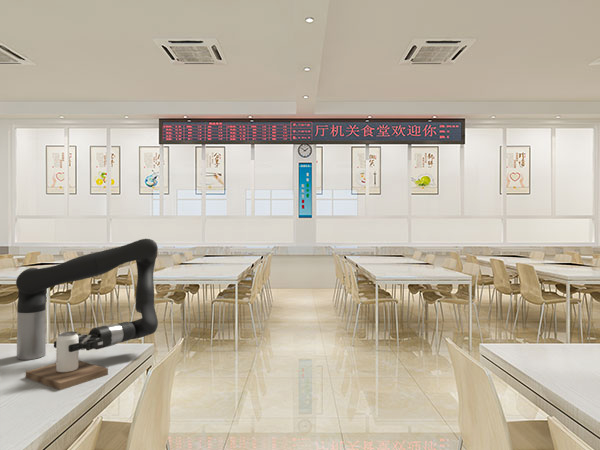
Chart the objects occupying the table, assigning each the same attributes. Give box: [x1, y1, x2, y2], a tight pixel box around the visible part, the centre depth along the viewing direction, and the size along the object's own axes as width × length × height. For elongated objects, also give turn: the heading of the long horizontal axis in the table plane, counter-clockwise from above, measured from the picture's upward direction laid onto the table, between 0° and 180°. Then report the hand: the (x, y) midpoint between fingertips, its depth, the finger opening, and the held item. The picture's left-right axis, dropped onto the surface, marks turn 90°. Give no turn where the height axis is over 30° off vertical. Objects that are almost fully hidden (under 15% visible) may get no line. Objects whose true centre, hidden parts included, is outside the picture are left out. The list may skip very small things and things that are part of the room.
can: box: [55, 331, 80, 373], centre depth 143 cm, size 6×6×12 cm
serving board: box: [25, 360, 109, 391], centre depth 143 cm, size 20×16×2 cm
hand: (61, 346), depth 142 cm, fingers open, 8 cm apart
